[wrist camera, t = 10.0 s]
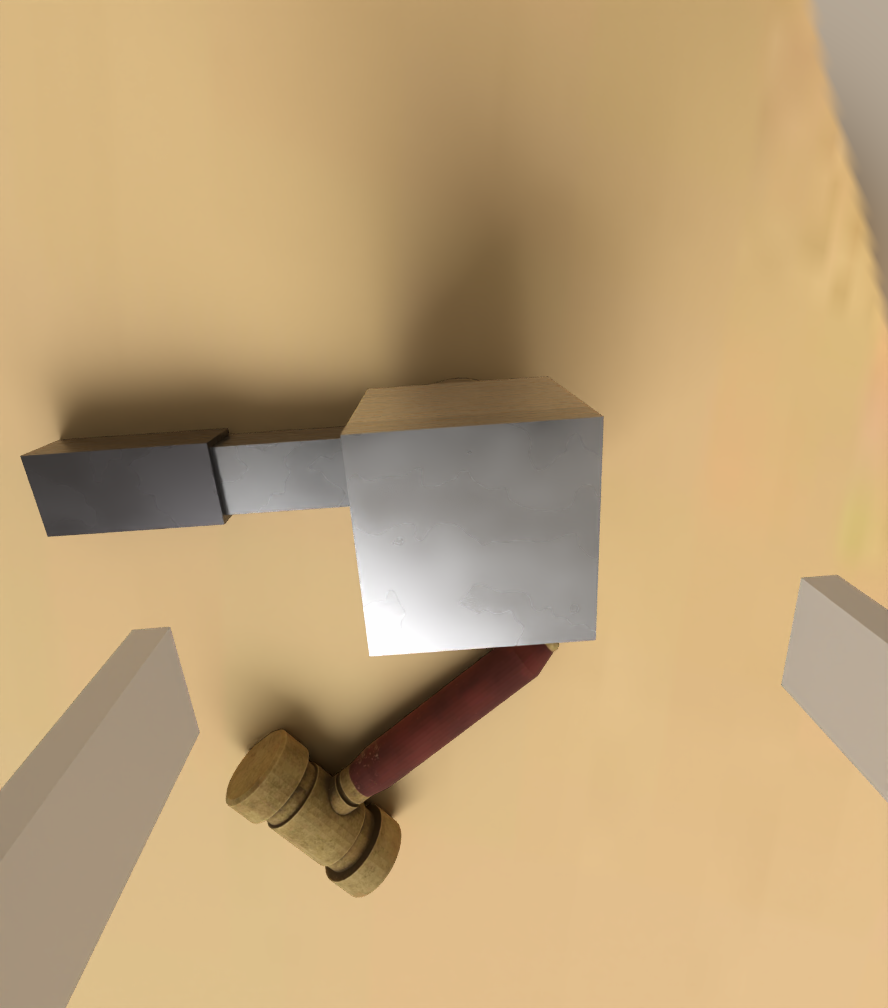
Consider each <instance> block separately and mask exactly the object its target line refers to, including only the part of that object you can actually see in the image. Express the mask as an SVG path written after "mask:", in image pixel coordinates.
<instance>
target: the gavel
mask: <svg viewBox="0 0 888 1008" xmlns="http://www.w3.org/2000/svg"><path fill="white" fill-rule="evenodd" d="M558 647H559V643H548V644H534V645H520V646H506V647H495V648H494V649H493V650H491V651H490V652H489V653H488V654H486V655H485V656H484V657H482V658H481V659H480V660H478V661H477V662H476V663H475V664H473V665H472V666H471V667H469V668H468V669H467V670H466V671H464V672H463V673H462V674H460V675H459V676H458V677H456V678H455V679H454V680H453V681H451V682H450V683H449V684H447V685H446V686H445V687H443V688H442V689H441V690H440V691H438V692H437V693H436V694H434V695H433V696H432V697H431V698H429V699H428V700H427V701H425V702H424V703H423V704H421V705H420V706H419V707H418V708H416V709H415V710H414V711H412V712H411V713H410V714H408V715H407V716H406V717H405V718H403V719H402V720H401V721H399V722H398V723H397V724H396V725H394V726H393V727H392V728H390V729H389V730H388V731H386V732H385V733H384V734H383V735H381V736H380V737H379V738H377V739H376V740H375V741H374V742H372V743H371V744H370V745H368V746H367V747H366V748H365V749H364V750H363V751H362V752H361V753H360V754H359V755H358V756H357V758H356V759H355V760H354V761H353V762H352V763H351V764H350V765H348V766H347V767H346V768H345V769H343V770H342V771H341V772H339V773H337V774H336V775H335V776H333V777H332V776H331V775H330V774H328V773H327V772H326V771H325V770H323V769H322V768H321V767H320V766H318V765H317V764H316V763H314V762H309V761H308V760H309V752H308V750H307V748H306V747H304V746H303V745H302V744H301V743H300V742H298V741H297V740H296V739H295V738H293V737H292V736H291V735H290V734H288V733H287V732H286V731H285V730H283V729H280V730H277V731H274V732H272V733H270V734H269V735H268V736H266V737H265V738H264V739H262V740H261V741H260V742H258V743H257V744H256V745H255V746H254V747H253V748H252V749H251V750H250V751H249V752H248V753H247V755H246V756H245V757H244V758H243V760H242V761H241V763H240V764H239V765H238V767H237V769H236V770H235V772H234V774H233V776H232V778H231V780H230V782H229V785H228V788H227V793H226V803H227V804H228V805H229V806H230V807H231V808H233V809H234V810H235V811H237V812H238V813H239V814H241V815H242V816H244V817H245V818H246V819H248V820H249V821H250V822H252V823H254V824H258V823H262V822H264V821H267V822H268V825H269V827H270V828H271V829H273V830H274V831H275V832H277V833H278V834H279V835H281V836H282V837H283V838H285V839H286V840H287V841H289V842H290V843H292V844H293V845H294V846H296V847H297V848H298V849H300V850H301V851H302V852H304V853H305V854H306V855H308V856H309V857H310V858H312V859H313V860H315V861H316V862H317V863H319V864H320V865H322V866H325V869H326V874H327V876H328V878H329V879H330V880H331V881H332V882H334V883H335V884H336V885H338V886H339V887H340V888H342V889H343V890H345V891H346V892H347V893H349V894H350V895H351V896H353V897H363V896H366V895H368V894H369V893H371V892H373V891H374V890H375V889H376V888H377V887H378V886H379V885H380V884H381V883H382V882H383V881H384V879H385V878H386V877H387V875H388V874H389V872H390V871H391V869H392V867H393V865H394V863H395V861H396V858H397V855H398V852H399V849H400V844H401V829H400V826H399V824H398V823H397V821H395V820H394V819H393V818H392V817H390V816H389V815H388V814H387V813H385V812H384V811H383V810H382V809H381V808H379V807H378V806H377V805H375V804H370V805H368V806H367V807H365V805H364V803H363V802H364V801H365V800H367V799H368V798H369V797H371V796H372V795H374V794H377V793H379V792H381V791H383V790H385V789H387V788H389V787H390V786H392V785H393V784H394V783H396V782H397V781H398V780H400V779H401V778H402V777H404V776H405V775H406V774H408V773H409V772H410V771H412V770H413V769H414V768H416V767H417V766H418V765H420V764H421V763H422V762H424V761H425V760H426V759H428V758H429V757H430V756H432V755H433V754H434V753H436V752H437V751H438V750H440V749H441V748H442V747H444V746H445V745H446V744H448V743H449V742H450V741H452V740H453V739H454V738H456V737H457V736H458V735H460V734H461V733H462V732H464V731H465V730H466V729H468V728H469V727H470V726H472V725H473V724H474V723H475V722H477V721H478V720H479V719H481V718H482V717H483V716H485V715H486V714H487V713H489V712H490V711H491V710H493V709H494V708H495V707H497V706H498V705H499V704H501V703H502V702H503V701H505V700H506V699H507V698H509V697H510V696H511V695H513V694H514V693H515V692H517V691H518V690H519V689H521V688H522V687H523V686H525V685H526V684H527V683H529V682H530V681H531V680H533V679H534V678H535V677H537V676H538V675H539V673H540V672H541V670H542V669H543V667H544V666H545V664H546V663H547V661H548V660H549V658H550V657H551V655H552V654H553V652H554V651H555V650H557V649H558Z"/></svg>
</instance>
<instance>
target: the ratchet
mask: <svg viewBox="0 0 888 1008" xmlns="http://www.w3.org/2000/svg"><path fill="white" fill-rule="evenodd" d="M472 381H479V380H476V379H468V378H455V379H447V380H443V381H440V382H436V383H434V384H443V383H458V382H472ZM344 428H345V426H342V427H327V428H313V429H298V430H284V431H269V432H255V433H241V434H229V432H228V428H223V429H208V430H194V431H179V432H165V433H150V434H136V435H121V436H107V437H92V438H78V439H64V440H58V441H56V442H53V443H51V444H48V445H46V446H43V447H41V448H38V449H36V450H34V451H31V452H29V453H26V454H24V455H21V459H22V462H23V465H24V468H25V471H26V474H27V477H28V480H29V483H30V486H31V489H32V491H33V494H34V497H35V500H36V503H37V506H38V509H39V512H40V515H41V518H42V521H43V524H44V527H45V530H46V532H47V535H48V537H50V536H64V535H79V534H93V533H107V532H122V531H136V530H150V529H165V528H179V527H193V526H208V525H222V524H225V523H226V522H227V521H228V519H229V518H230V517H231V516H232V515H233V514H247V513H261V512H275V511H290V510H304V509H318V508H333V507H347V506H350V504H349V496H348V489H347V481H346V474H345V466H344V459H343V451H342V444H341V436H340V435H341V433H342V431H343V430H344Z"/></svg>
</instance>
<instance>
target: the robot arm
mask: <svg viewBox="0 0 888 1008" xmlns="http://www.w3.org/2000/svg"><path fill="white" fill-rule="evenodd" d="M781 685H782V686H783V688H784V689H785V690H786V691H787V692H788V693H789V694H790V695H791V696H792V697H793V699H794V700H795V701H796V702H797V703H798V704H799V705H800V706H801V707H802V709H803V710H804V711H805V712H806V713H807V714H808V715H809V716H810V717H811V718H812V720H813V721H814V722H815V723H816V724H817V725H818V726H819V727H820V728H821V729H822V731H823V732H824V733H825V734H826V735H827V736H828V737H829V738H830V739H831V740H832V742H833V743H834V744H835V745H836V746H837V747H838V748H839V749H840V750H841V751H842V753H843V754H844V755H845V756H846V757H847V758H848V759H849V760H850V761H851V762H852V764H853V765H854V766H855V767H856V768H857V769H858V770H859V771H860V772H861V773H862V775H863V776H864V777H865V778H866V779H867V780H868V781H869V782H870V783H871V785H872V786H873V787H874V788H875V789H876V790H877V791H878V792H879V793H880V794H881V796H882V797H883V798H884V799H885V800H886V801H887V802H888V610H887V609H886V608H884V607H883V606H882V605H880V604H879V603H877V602H876V601H874V600H873V599H871V598H870V597H869V596H867V595H866V594H864V593H863V592H861V591H860V590H858V589H857V588H856V587H854V586H853V585H851V584H850V583H848V582H847V581H845V580H844V579H843V578H841V577H840V576H838V575H830V576H817V577H804V578H801V582H800V587H799V592H798V598H797V603H796V608H795V614H794V619H793V625H792V630H791V635H790V641H789V646H788V651H787V657H786V662H785V667H784V673H783V678H782V684H781ZM199 733H200V732H199V728H198V725H197V721H196V717H195V714H194V710H193V707H192V703H191V700H190V696H189V692H188V689H187V685H186V682H185V678H184V675H183V671H182V667H181V664H180V660H179V657H178V653H177V649H176V646H175V642H174V639H173V635H172V632H171V628H170V627H163V628H150V629H137V630H132V631H131V632H130V634H129V635H128V636H127V637H126V638H125V640H124V641H123V642H122V643H121V645H120V646H119V647H118V648H117V649H116V651H115V652H114V653H113V654H112V655H111V657H110V658H109V659H108V660H107V662H106V663H105V664H104V665H103V666H102V668H101V669H100V670H99V671H98V672H97V674H96V675H95V676H94V677H93V678H92V680H91V681H90V682H89V683H88V685H87V686H86V687H85V688H84V689H83V691H82V692H81V693H80V694H79V695H78V697H77V698H76V699H75V700H74V701H73V703H72V704H71V705H70V706H69V708H68V709H67V710H66V711H65V712H64V714H63V715H62V716H61V717H60V718H59V720H58V721H57V722H56V723H55V725H54V726H53V727H52V728H51V729H50V731H49V732H48V733H47V734H46V735H45V737H44V738H43V739H42V740H41V741H40V743H39V744H38V745H37V746H36V748H35V749H34V750H33V751H32V752H31V754H30V755H29V756H28V757H27V758H26V760H25V761H24V762H23V763H22V765H21V766H20V767H19V768H18V769H17V771H16V772H15V773H14V774H13V775H12V777H11V778H10V779H9V780H8V781H7V783H6V784H5V785H4V786H3V788H2V789H1V790H0V1008H66V1006H67V1004H68V1002H69V1000H70V998H71V996H72V994H73V992H74V990H75V988H76V985H77V983H78V981H79V979H80V977H81V975H82V973H83V971H84V969H85V967H86V965H87V963H88V961H89V959H90V957H91V955H92V953H93V951H94V948H95V946H96V944H97V942H98V940H99V938H100V936H101V934H102V932H103V930H104V928H105V926H106V924H107V922H108V920H109V918H110V916H111V914H112V911H113V909H114V907H115V905H116V903H117V901H118V899H119V897H120V895H121V893H122V891H123V889H124V887H125V885H126V883H127V881H128V879H129V877H130V874H131V872H132V870H133V868H134V866H135V864H136V862H137V860H138V858H139V856H140V854H141V852H142V850H143V848H144V846H145V844H146V842H147V840H148V837H149V835H150V833H151V831H152V829H153V827H154V825H155V823H156V821H157V819H158V817H159V815H160V813H161V811H162V809H163V807H164V805H165V803H166V801H167V798H168V796H169V794H170V792H171V790H172V788H173V786H174V784H175V782H176V780H177V778H178V776H179V774H180V772H181V770H182V768H183V766H184V764H185V761H186V759H187V757H188V755H189V753H190V751H191V749H192V747H193V745H194V743H195V741H196V739H197V737H198V735H199Z"/></svg>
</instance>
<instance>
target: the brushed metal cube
mask: <svg viewBox="0 0 888 1008" xmlns="http://www.w3.org/2000/svg"><path fill="white" fill-rule="evenodd" d="M603 419H604V416H602V415H601V414H599V413H598V412H597V411H595V410H594V409H592V408H591V407H590V406H588V405H587V404H585V403H584V402H583V401H581V400H580V399H579V398H577V397H576V396H574V395H573V394H572V393H570V392H569V391H567V390H566V389H565V388H563V387H562V386H561V385H559V384H558V383H556V382H555V381H554V380H552V379H551V378H549V377H548V376H543V377H529V378H515V379H501V380H486V381H472V382H458V383H443V384H429V385H415V386H401V387H386V388H372V389H367V391H366V393H365V394H364V396H363V398H362V399H361V401H360V403H359V404H358V406H357V408H356V409H355V411H354V413H353V415H352V416H351V418H350V420H349V421H348V423H347V425H346V426H345V428H344V430H343V431H342V433H341V435H340V436H341V444H342V451H343V459H344V466H345V474H346V481H347V489H348V496H349V504H350V512H351V519H352V527H353V534H354V542H355V549H356V557H357V564H358V572H359V579H360V587H361V594H362V602H363V609H364V617H365V625H366V632H367V640H368V647H369V655H370V656H381V655H395V654H409V653H422V652H436V651H450V650H464V649H478V648H492V647H506V646H520V645H534V644H548V643H562V642H576V641H590V640H596V616H597V588H598V560H599V532H600V504H601V475H602V447H603Z"/></svg>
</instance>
